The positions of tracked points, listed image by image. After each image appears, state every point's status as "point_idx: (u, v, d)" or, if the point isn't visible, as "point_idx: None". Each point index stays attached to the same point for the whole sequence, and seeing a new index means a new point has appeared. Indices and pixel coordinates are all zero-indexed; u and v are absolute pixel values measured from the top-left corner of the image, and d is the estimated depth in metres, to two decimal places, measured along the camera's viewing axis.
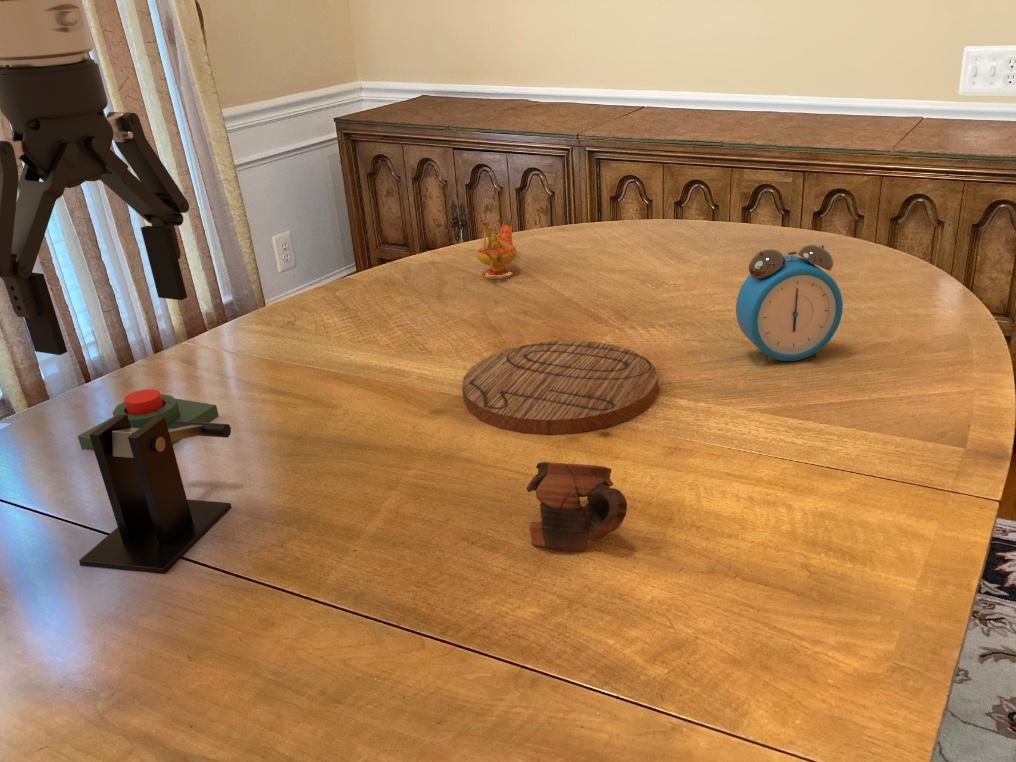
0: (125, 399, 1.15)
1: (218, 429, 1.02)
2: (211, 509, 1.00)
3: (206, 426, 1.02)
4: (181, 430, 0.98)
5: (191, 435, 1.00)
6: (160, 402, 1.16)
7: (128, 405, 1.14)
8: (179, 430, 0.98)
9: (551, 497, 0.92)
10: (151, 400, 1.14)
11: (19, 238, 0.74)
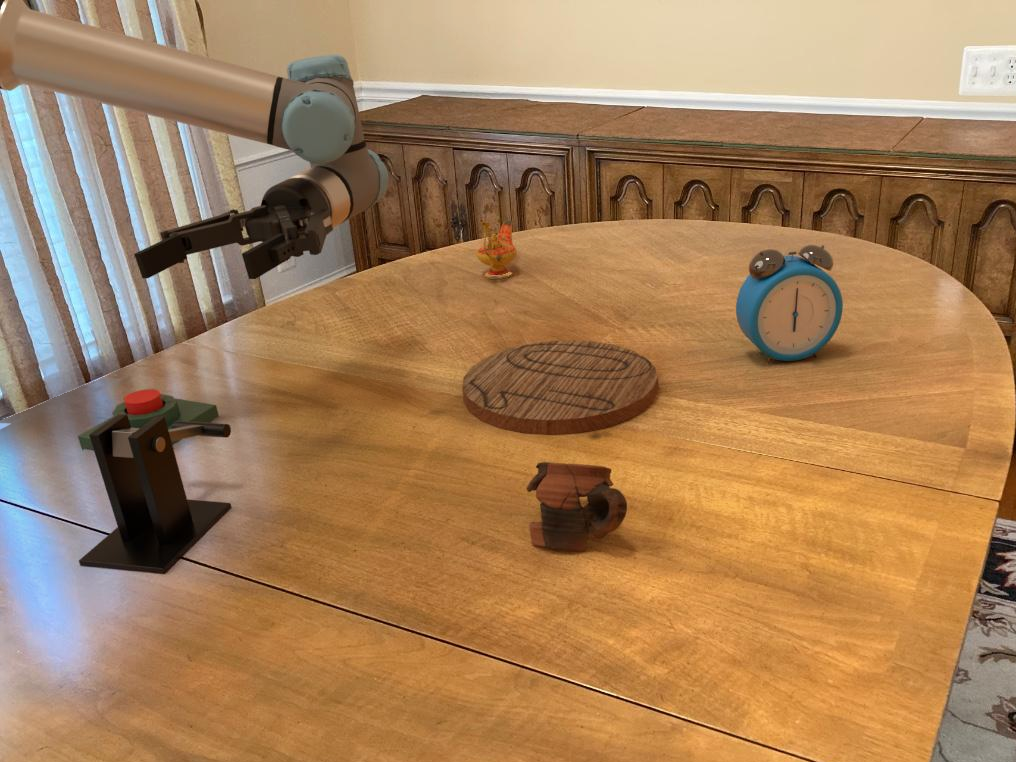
0: (125, 399, 1.15)
1: (218, 429, 1.02)
2: (211, 509, 1.00)
3: (206, 426, 1.02)
4: (181, 430, 0.98)
5: (191, 435, 1.00)
6: (160, 402, 1.16)
7: (128, 405, 1.14)
8: (179, 430, 0.98)
9: (551, 497, 0.92)
10: (151, 400, 1.14)
11: None
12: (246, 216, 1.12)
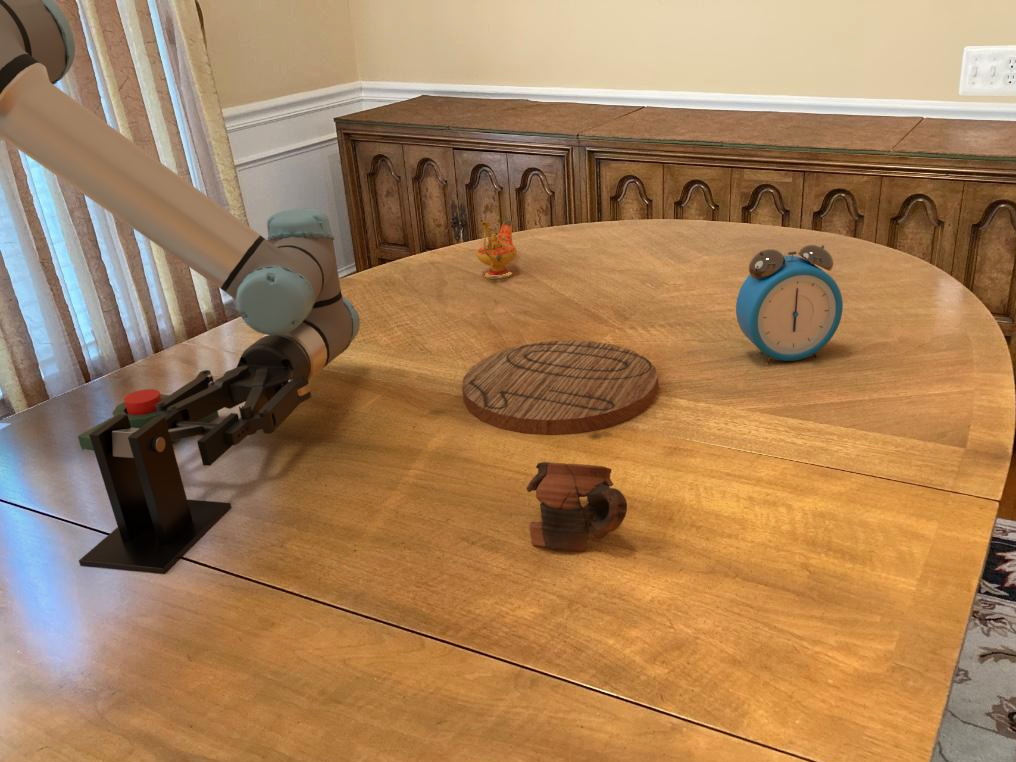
0: (125, 399, 1.15)
1: None
2: (211, 509, 1.00)
3: (206, 426, 1.02)
4: (181, 430, 0.98)
5: (191, 435, 1.00)
6: None
7: (128, 405, 1.14)
8: (179, 430, 0.98)
9: (551, 497, 0.92)
10: (151, 400, 1.14)
11: None
12: None
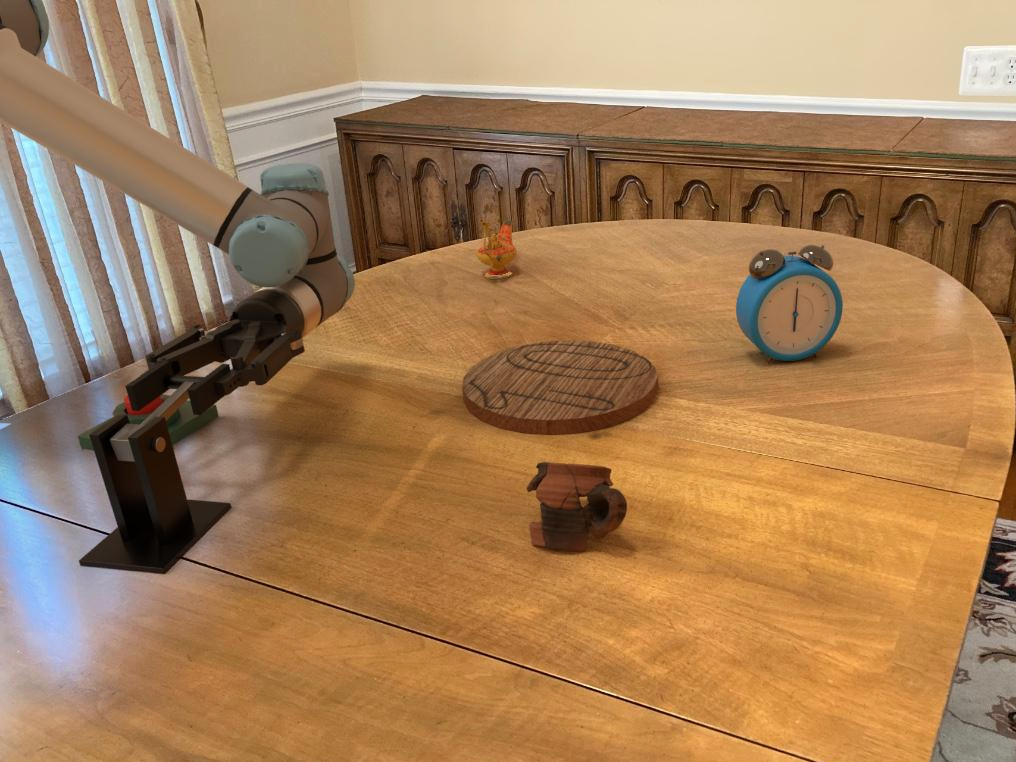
0: (125, 399, 1.15)
1: None
2: (211, 509, 1.00)
3: None
4: (175, 401, 0.97)
5: (186, 399, 0.99)
6: (160, 402, 1.16)
7: (128, 405, 1.14)
8: (173, 402, 0.97)
9: (551, 497, 0.92)
10: None
11: None
12: None
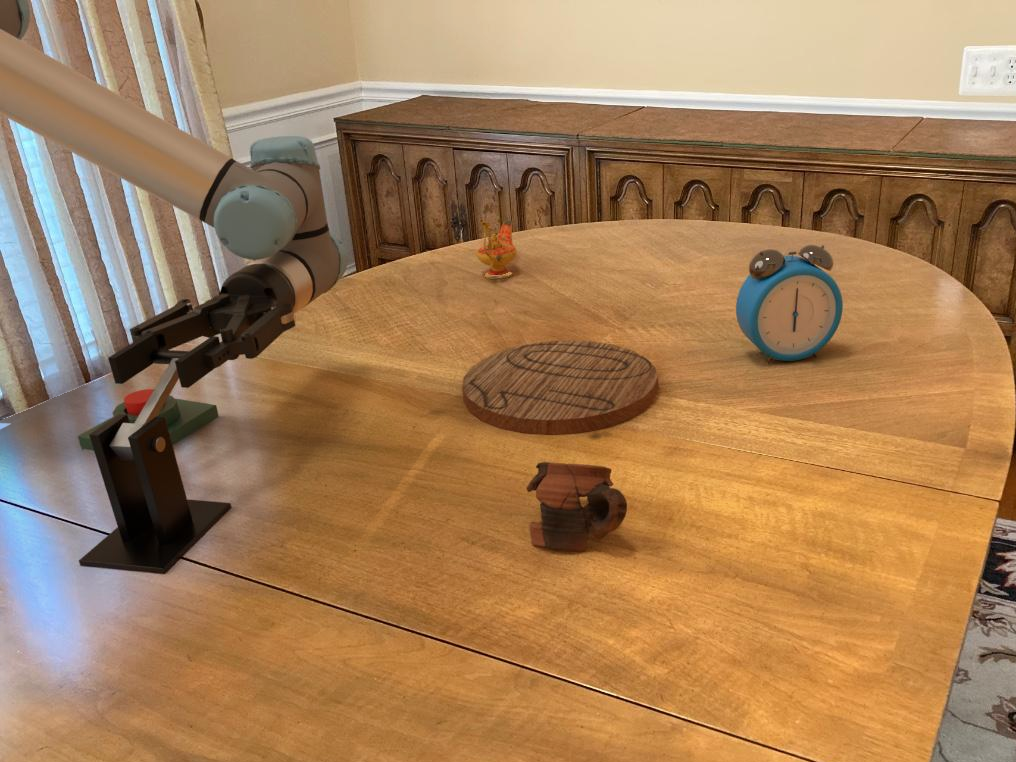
0: (125, 399, 1.15)
1: None
2: (211, 509, 1.00)
3: None
4: (166, 386, 0.96)
5: (177, 379, 0.97)
6: None
7: (128, 405, 1.14)
8: (165, 388, 0.96)
9: (551, 497, 0.92)
10: None
11: None
12: None
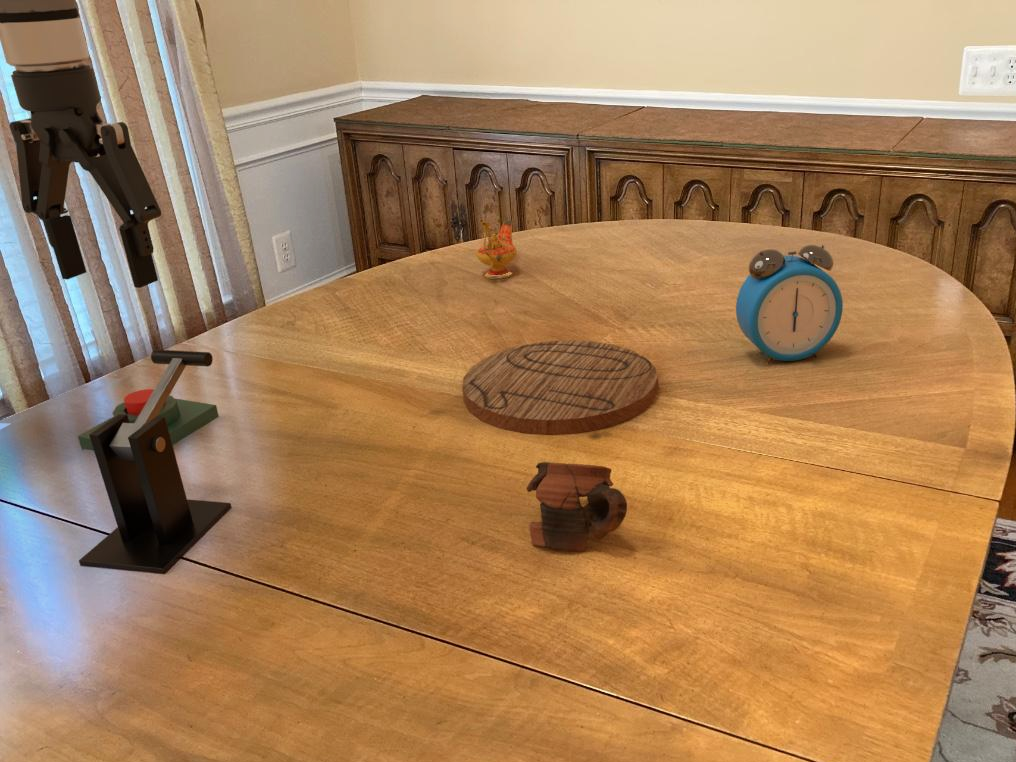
0: (125, 399, 1.15)
1: (199, 363, 0.98)
2: (211, 509, 1.00)
3: (186, 359, 0.98)
4: (166, 386, 0.96)
5: (177, 379, 0.97)
6: None
7: (128, 405, 1.14)
8: (165, 388, 0.96)
9: (551, 497, 0.92)
10: None
11: None
12: None
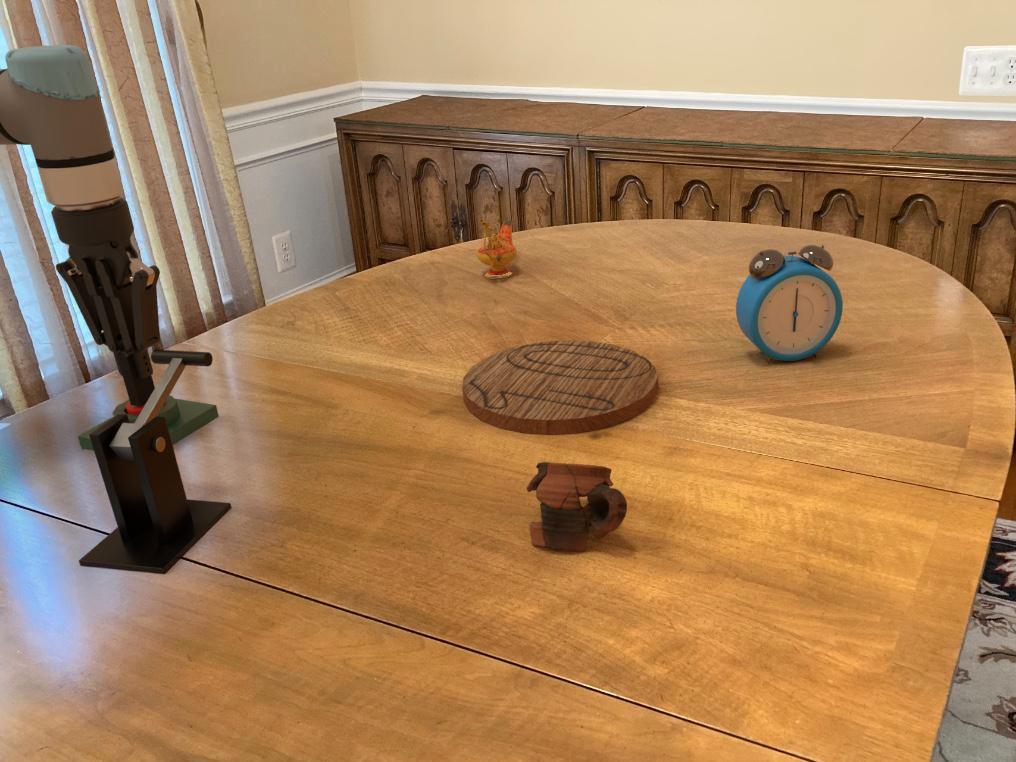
0: (127, 406, 1.15)
1: (199, 363, 0.98)
2: (211, 509, 1.00)
3: (186, 359, 0.98)
4: (166, 386, 0.96)
5: (177, 379, 0.97)
6: None
7: (130, 412, 1.15)
8: (165, 388, 0.96)
9: (551, 497, 0.92)
10: None
11: None
12: None
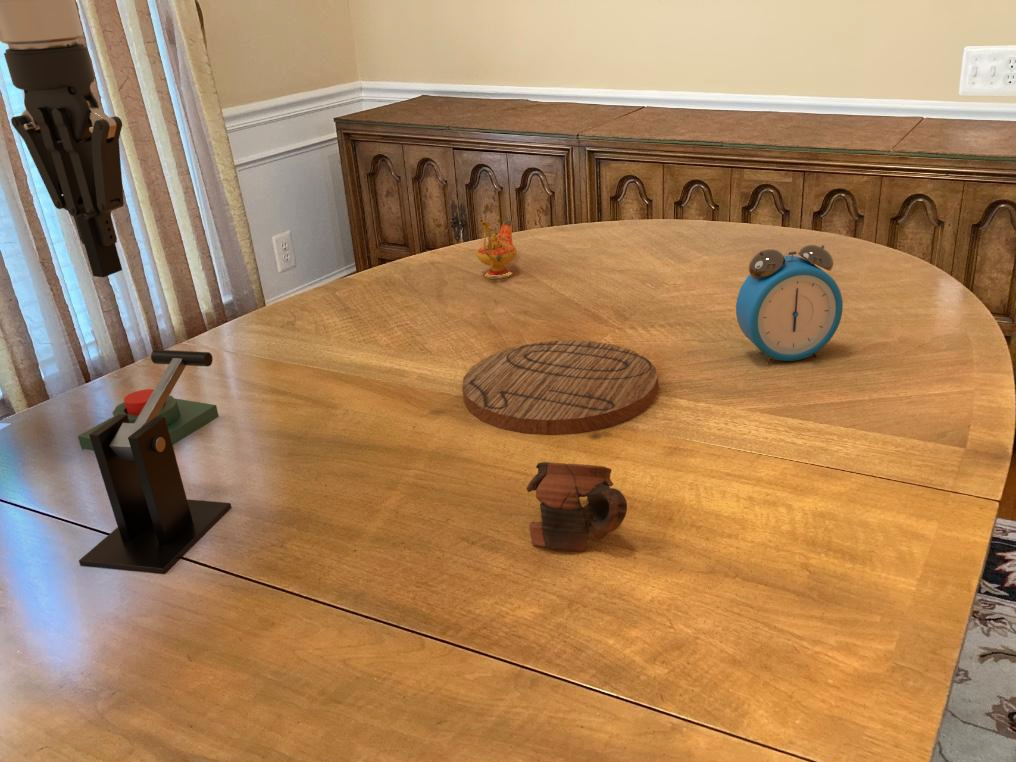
0: (125, 399, 1.15)
1: (199, 363, 0.98)
2: (211, 509, 1.00)
3: (186, 359, 0.98)
4: (166, 386, 0.96)
5: (177, 379, 0.97)
6: None
7: (128, 405, 1.14)
8: (165, 388, 0.96)
9: (551, 497, 0.92)
10: None
11: None
12: (41, 132, 1.01)
